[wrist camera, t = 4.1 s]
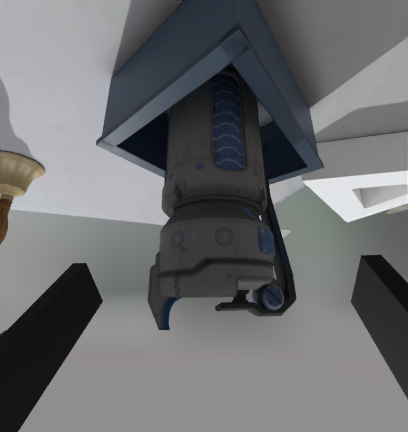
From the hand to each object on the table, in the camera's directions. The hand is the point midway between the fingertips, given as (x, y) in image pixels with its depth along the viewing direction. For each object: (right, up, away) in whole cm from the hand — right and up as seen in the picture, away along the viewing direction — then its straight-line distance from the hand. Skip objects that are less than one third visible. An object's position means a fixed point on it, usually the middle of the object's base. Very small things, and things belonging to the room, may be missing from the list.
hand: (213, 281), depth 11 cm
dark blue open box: (+1, +18, +16) cm, 24 cm away
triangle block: (+27, +14, +29) cm, 42 cm away
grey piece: (+1, +18, +16) cm, 24 cm away
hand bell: (-34, +13, +30) cm, 47 cm away
